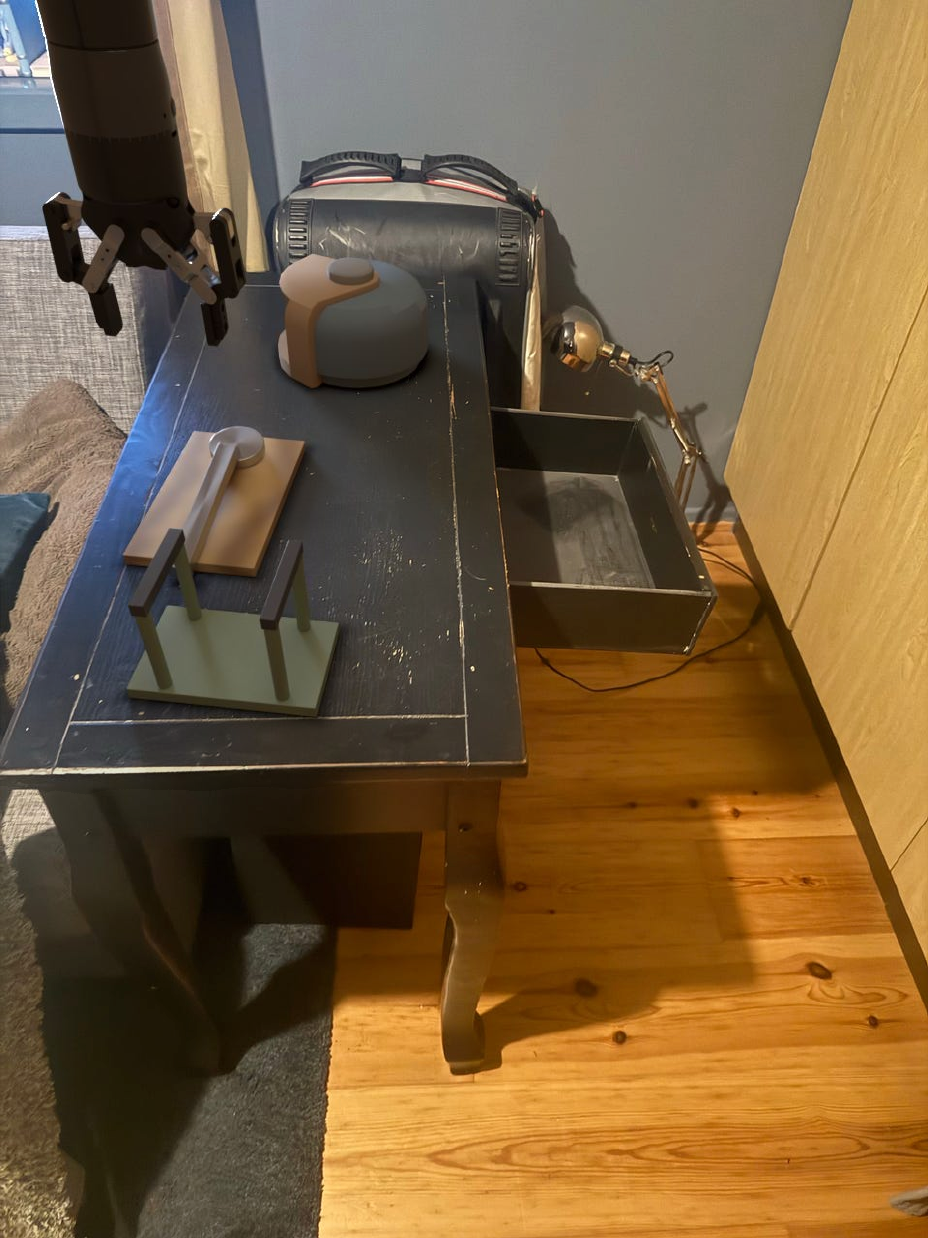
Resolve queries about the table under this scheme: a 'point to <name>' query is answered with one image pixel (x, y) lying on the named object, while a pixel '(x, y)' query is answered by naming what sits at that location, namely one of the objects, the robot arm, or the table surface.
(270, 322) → the table surface
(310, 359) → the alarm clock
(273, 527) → the board
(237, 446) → the ladle
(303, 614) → the rack
